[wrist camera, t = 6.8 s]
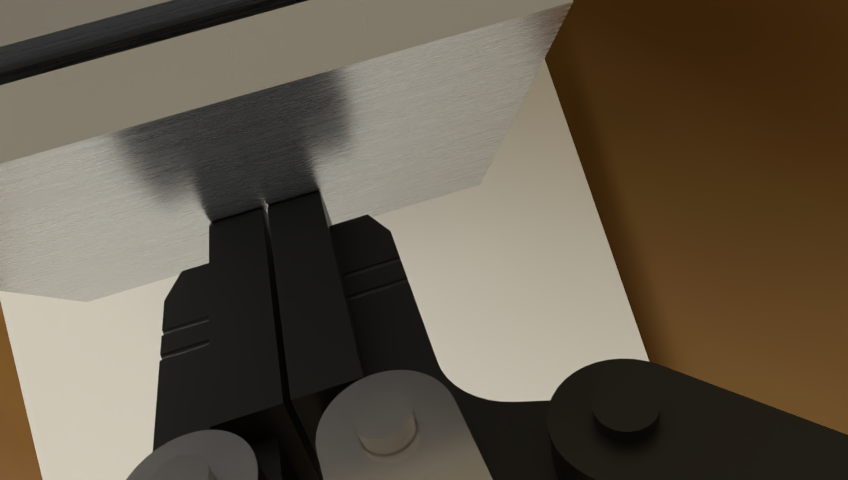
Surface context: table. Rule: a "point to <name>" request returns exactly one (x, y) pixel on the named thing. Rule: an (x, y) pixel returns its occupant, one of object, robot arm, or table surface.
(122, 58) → the hub
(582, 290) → the base board
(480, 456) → the robot arm
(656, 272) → the table surface
